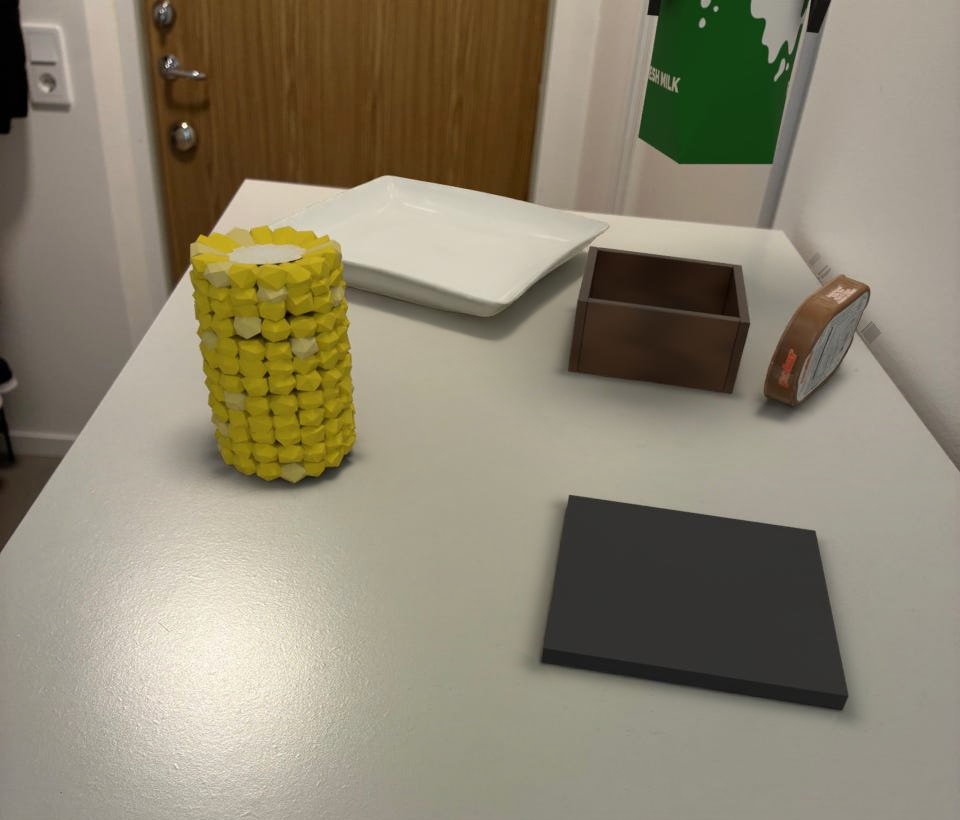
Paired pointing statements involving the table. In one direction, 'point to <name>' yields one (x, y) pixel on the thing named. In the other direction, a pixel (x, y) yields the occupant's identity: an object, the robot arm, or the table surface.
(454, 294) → the square plate
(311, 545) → the table surface
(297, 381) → the food
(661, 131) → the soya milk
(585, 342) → the crate
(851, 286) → the tin
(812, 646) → the mat
